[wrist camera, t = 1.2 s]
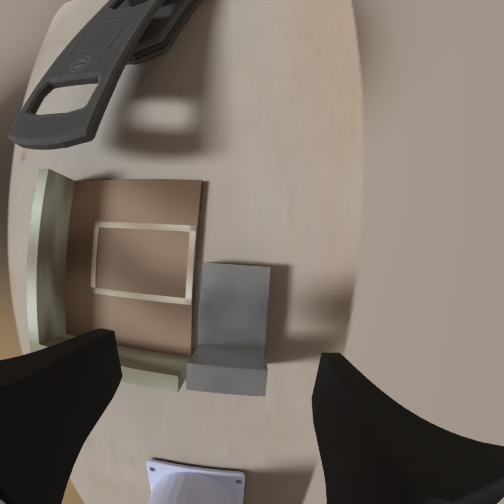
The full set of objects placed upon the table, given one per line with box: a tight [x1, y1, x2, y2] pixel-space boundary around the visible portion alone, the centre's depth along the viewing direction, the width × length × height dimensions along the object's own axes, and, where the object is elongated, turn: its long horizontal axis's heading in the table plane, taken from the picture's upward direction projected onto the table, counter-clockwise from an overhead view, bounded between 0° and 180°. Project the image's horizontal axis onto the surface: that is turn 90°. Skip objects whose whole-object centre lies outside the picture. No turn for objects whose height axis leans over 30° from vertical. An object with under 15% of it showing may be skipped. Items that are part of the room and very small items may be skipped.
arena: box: [27, 169, 203, 392], centre depth 17 cm, size 12×11×4 cm
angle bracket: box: [186, 262, 271, 396], centre depth 16 cm, size 6×4×5 cm, turn 176°
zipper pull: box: [8, 0, 202, 150], centre depth 16 cm, size 9×7×25 cm
